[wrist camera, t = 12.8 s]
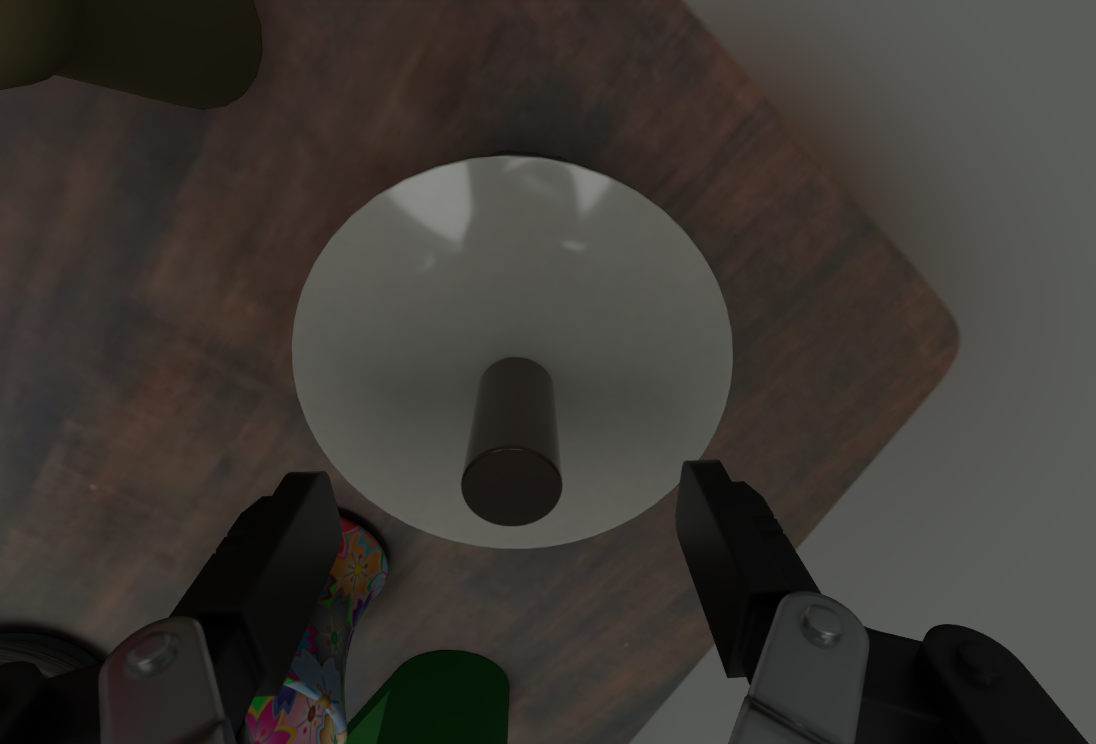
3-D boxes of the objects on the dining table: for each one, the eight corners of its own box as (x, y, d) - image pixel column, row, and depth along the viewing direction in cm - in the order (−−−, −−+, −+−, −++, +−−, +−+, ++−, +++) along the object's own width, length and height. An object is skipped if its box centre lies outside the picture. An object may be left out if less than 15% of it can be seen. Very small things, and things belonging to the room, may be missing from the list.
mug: (388, 495, 31) (325, 666, 21) (405, 601, 35) (359, 784, 25) (183, 497, 30) (25, 673, 21) (226, 605, 35) (111, 792, 25)
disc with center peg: (255, 442, 18) (142, 579, 13) (403, 45, 13) (315, 0, 8) (585, 569, 22) (603, 719, 16) (808, 295, 16) (942, 384, 11)
